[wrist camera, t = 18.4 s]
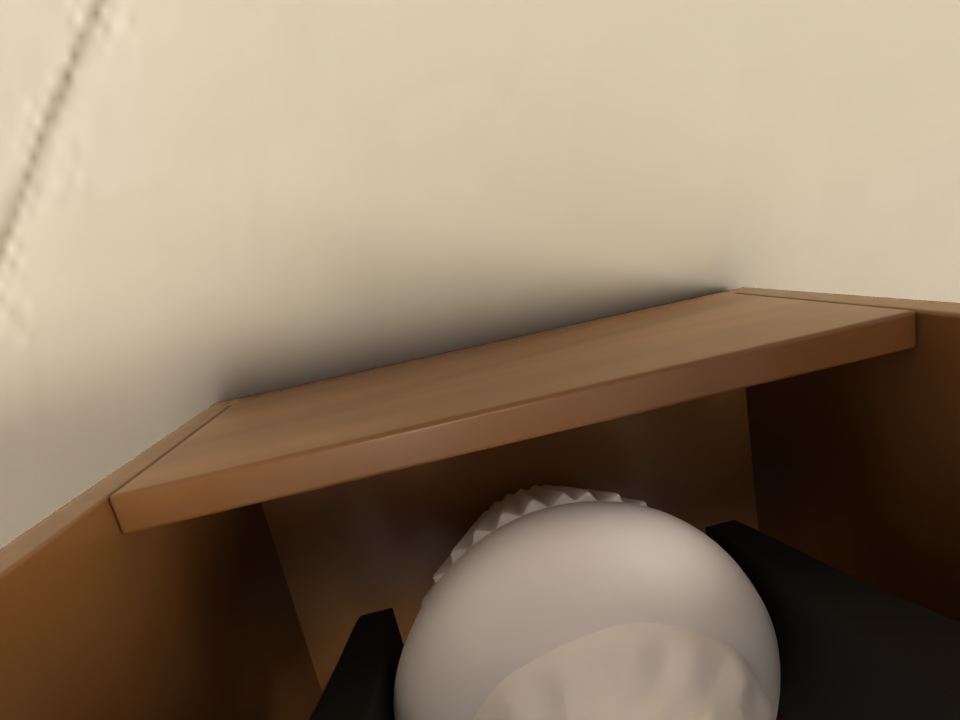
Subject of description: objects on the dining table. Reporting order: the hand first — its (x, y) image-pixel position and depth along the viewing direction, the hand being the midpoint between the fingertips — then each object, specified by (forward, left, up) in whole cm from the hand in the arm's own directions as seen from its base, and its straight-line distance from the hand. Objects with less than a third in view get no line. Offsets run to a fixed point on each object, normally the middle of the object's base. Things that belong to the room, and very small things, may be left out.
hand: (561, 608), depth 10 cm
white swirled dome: (0, 0, -2) cm, 2 cm away
